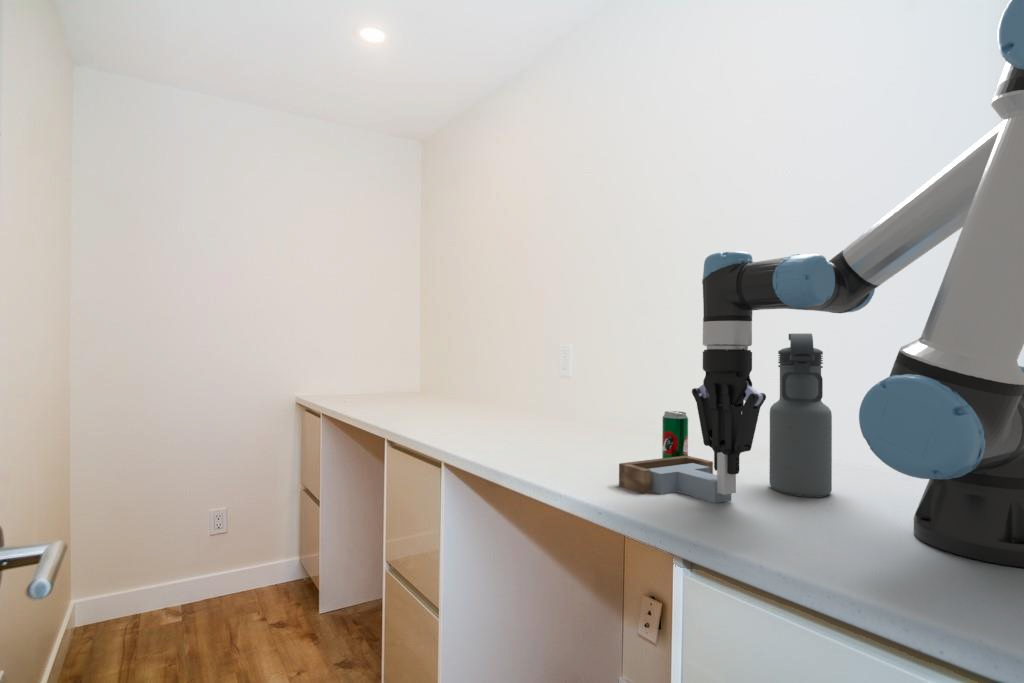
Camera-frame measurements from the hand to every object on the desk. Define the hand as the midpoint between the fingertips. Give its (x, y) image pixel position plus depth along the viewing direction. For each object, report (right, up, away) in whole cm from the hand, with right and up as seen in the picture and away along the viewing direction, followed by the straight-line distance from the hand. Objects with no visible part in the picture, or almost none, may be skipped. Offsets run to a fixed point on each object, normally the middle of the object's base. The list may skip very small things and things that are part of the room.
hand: (726, 492), depth 88 cm
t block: (-3, -2, +6) cm, 7 cm away
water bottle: (+16, -2, +8) cm, 18 cm away
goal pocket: (-6, -2, +12) cm, 14 cm away
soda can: (-1, -2, +23) cm, 24 cm away
